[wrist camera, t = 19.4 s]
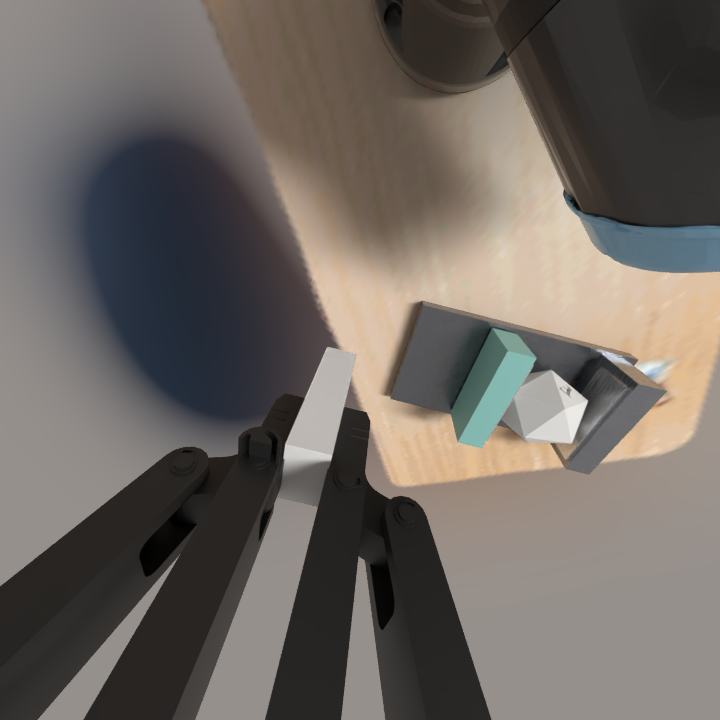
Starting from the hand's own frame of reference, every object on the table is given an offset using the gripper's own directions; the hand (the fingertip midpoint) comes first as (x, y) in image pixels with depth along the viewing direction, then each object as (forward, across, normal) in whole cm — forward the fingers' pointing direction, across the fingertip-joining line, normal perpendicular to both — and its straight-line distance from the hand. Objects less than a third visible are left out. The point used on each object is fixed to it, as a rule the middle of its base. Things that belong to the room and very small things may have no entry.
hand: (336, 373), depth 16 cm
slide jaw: (+21, +17, -9) cm, 28 cm away
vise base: (+22, +20, -9) cm, 31 cm away
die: (+21, +23, -9) cm, 33 cm away
